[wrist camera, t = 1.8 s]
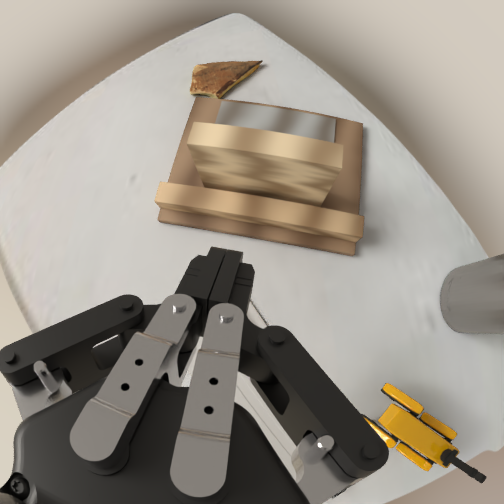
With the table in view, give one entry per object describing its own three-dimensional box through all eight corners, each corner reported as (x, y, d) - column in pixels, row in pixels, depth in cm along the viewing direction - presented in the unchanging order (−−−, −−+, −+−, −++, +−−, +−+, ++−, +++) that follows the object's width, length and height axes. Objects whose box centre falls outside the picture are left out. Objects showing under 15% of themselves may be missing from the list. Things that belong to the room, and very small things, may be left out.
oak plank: (321, 190, 37) (343, 145, 26) (319, 208, 37) (341, 168, 26) (209, 171, 38) (193, 121, 27) (204, 189, 37) (186, 143, 27)
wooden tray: (360, 127, 40) (367, 113, 37) (352, 256, 36) (361, 250, 33) (197, 101, 41) (193, 86, 38) (159, 222, 38) (150, 213, 34)
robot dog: (428, 466, 30) (476, 505, 17) (345, 412, 33) (386, 454, 20) (452, 435, 31) (508, 465, 18) (375, 375, 34) (429, 401, 20)
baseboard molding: (243, 268, 37) (161, 323, 36) (241, 265, 34) (153, 323, 33) (375, 457, 32) (299, 504, 31) (382, 466, 29) (301, 515, 28)
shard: (262, 66, 43) (262, 59, 41) (264, 101, 42) (264, 93, 40) (195, 69, 43) (193, 62, 41) (190, 104, 42) (188, 97, 40)
